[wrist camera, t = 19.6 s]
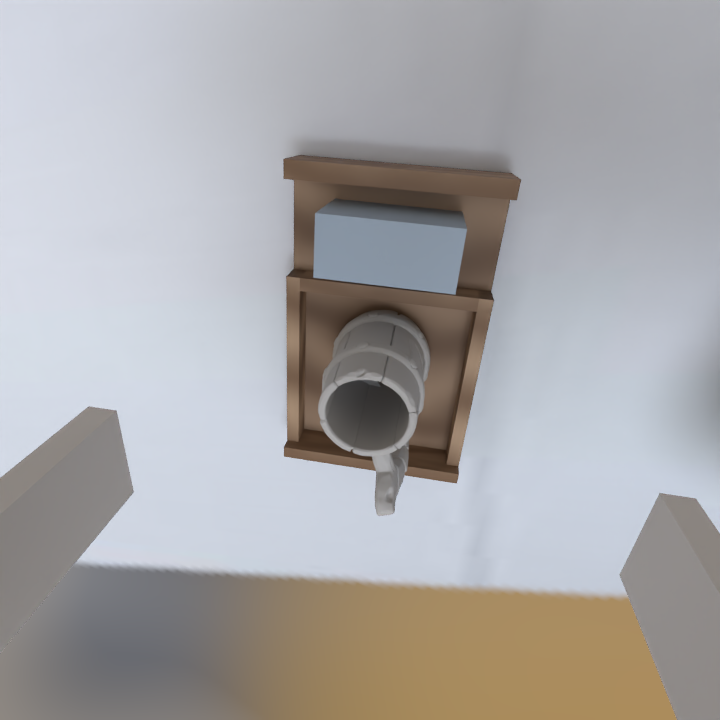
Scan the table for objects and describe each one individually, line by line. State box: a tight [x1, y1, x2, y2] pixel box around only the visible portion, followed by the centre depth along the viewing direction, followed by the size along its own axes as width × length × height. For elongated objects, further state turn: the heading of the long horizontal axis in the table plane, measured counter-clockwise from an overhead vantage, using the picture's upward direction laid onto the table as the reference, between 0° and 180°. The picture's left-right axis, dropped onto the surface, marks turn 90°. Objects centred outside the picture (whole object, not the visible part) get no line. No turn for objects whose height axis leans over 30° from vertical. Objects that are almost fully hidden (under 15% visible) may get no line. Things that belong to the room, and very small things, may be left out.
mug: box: [318, 310, 430, 516], centre depth 33 cm, size 8×12×12 cm, turn 15°
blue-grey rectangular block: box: [313, 199, 467, 295], centre depth 31 cm, size 9×4×6 cm, turn 86°
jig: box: [284, 155, 521, 483], centre depth 36 cm, size 24×15×4 cm, turn 176°
